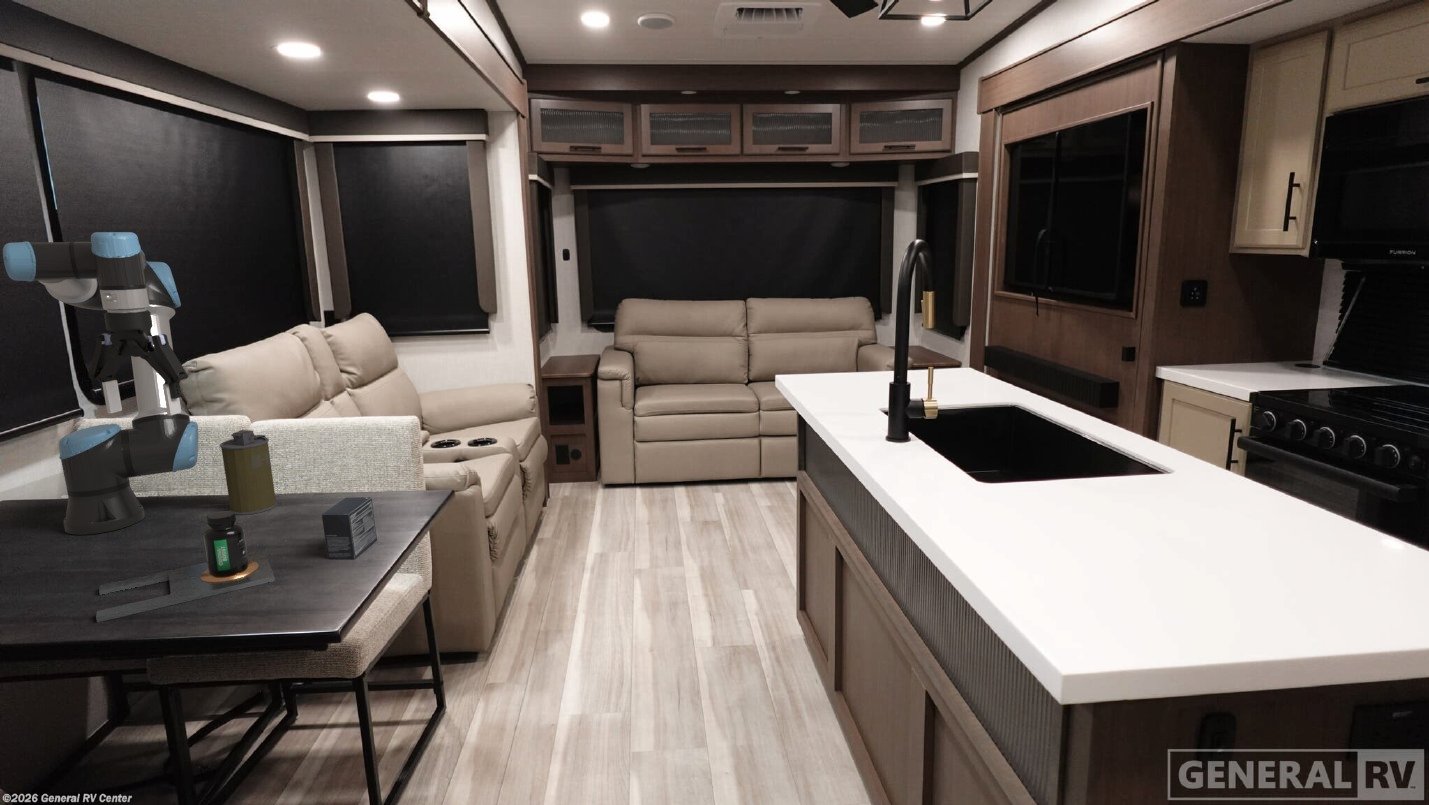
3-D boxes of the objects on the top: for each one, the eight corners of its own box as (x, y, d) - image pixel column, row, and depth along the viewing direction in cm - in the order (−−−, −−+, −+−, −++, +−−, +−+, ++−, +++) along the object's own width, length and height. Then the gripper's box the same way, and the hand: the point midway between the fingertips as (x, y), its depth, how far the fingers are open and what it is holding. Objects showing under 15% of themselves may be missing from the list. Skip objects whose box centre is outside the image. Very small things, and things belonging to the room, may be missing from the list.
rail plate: (97, 622, 136) (95, 616, 136) (100, 589, 149) (99, 584, 149) (275, 581, 153) (274, 575, 152) (264, 554, 165) (264, 549, 165)
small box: (350, 540, 173) (344, 496, 171) (378, 540, 173) (373, 496, 171) (325, 559, 163) (319, 513, 160) (355, 559, 162) (350, 513, 160)
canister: (255, 516, 187) (244, 437, 183) (219, 513, 189) (207, 435, 185) (288, 501, 198) (278, 426, 193) (253, 498, 200) (243, 424, 195)
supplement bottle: (230, 579, 151) (221, 522, 148) (200, 576, 152) (191, 519, 149) (257, 565, 157) (249, 509, 155) (228, 562, 158) (220, 507, 156)
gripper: (53, 311, 151) (73, 415, 156) (168, 313, 148) (185, 419, 153) (88, 307, 159) (106, 407, 163) (198, 309, 156) (213, 410, 160)
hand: (144, 413), depth 158 cm, fingers open, 13 cm apart
